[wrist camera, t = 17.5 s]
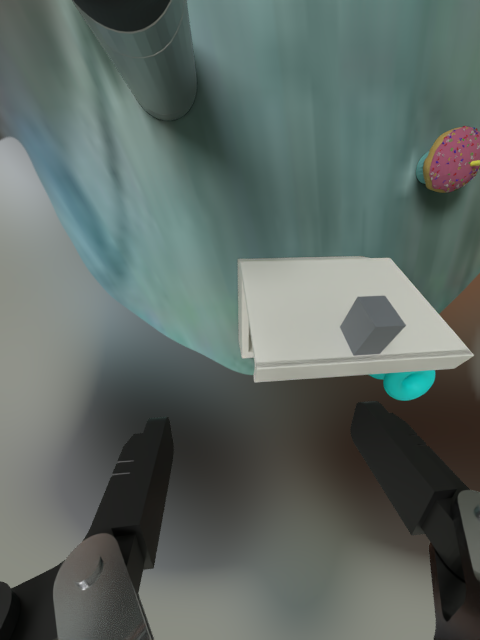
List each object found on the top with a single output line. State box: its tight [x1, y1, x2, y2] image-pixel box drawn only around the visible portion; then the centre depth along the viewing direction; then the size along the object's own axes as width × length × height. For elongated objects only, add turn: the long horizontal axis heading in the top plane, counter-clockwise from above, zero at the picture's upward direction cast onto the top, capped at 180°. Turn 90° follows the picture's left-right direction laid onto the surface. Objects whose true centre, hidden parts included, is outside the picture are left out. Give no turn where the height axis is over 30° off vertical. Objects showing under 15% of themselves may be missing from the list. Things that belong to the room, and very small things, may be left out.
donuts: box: [369, 370, 435, 401], centre depth 50 cm, size 10×10×10 cm
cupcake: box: [416, 126, 480, 193], centre depth 34 cm, size 9×8×12 cm
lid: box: [240, 258, 474, 382], centre depth 30 cm, size 18×24×8 cm
